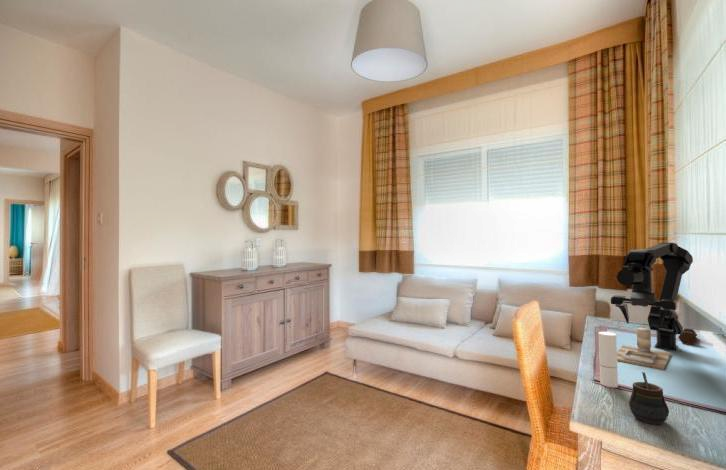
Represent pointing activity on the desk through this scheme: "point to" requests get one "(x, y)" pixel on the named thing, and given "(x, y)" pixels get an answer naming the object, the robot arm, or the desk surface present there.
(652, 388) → the mate gourd
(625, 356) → the collar
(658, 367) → the subfloor panel
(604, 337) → the tube
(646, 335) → the beige rounded cylinder
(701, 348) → the desk surface
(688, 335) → the brown textured oblong piece
